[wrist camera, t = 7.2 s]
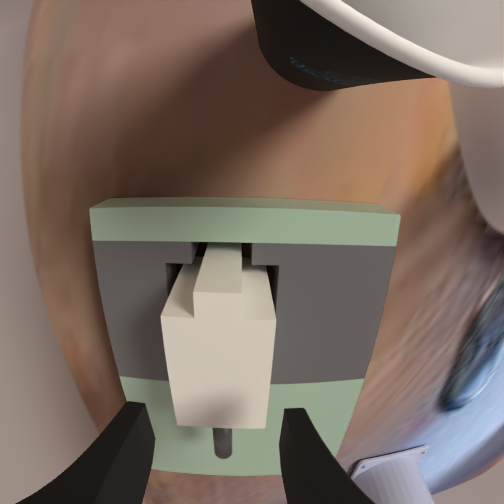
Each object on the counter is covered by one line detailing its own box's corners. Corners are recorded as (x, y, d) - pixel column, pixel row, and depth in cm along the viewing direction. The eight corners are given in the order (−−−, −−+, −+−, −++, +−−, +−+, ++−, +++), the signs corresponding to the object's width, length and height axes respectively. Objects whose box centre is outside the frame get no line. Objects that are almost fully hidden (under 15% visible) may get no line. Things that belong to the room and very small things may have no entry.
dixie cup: (327, -34, 11) (406, -159, 1) (410, 80, 13) (577, 48, 3) (199, 24, 12) (140, -129, 2) (289, 148, 14) (400, 162, 4)
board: (324, 447, 22) (329, 469, 20) (156, 445, 21) (151, 468, 19) (379, 204, 15) (400, 215, 13) (110, 198, 15) (89, 208, 13)
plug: (255, 397, 20) (260, 469, 14) (196, 395, 19) (186, 467, 14) (265, 239, 16) (278, 294, 10) (186, 237, 16) (157, 290, 10)
